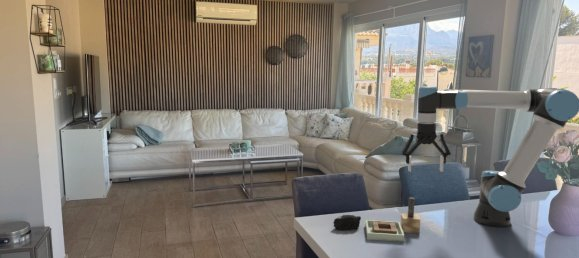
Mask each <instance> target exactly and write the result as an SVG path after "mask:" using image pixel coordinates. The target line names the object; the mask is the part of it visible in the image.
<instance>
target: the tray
mask: <svg viewBox="0 0 579 258" xmlns="http://www.w3.org/2000/svg"><path fill="white" fill-rule="evenodd" d="M385 221H386V222H387V223H395V226H396V230H397V234H386V233H373V229H372V226H373V222H381V220H372V219H365V225H364V226H365V232H366V239H367V240H368V241H384V242H396V241H397V243H398V242H399V243H400V242H401V243H405V232H403V230H402V227H401V221H390V220H385Z"/></svg>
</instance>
